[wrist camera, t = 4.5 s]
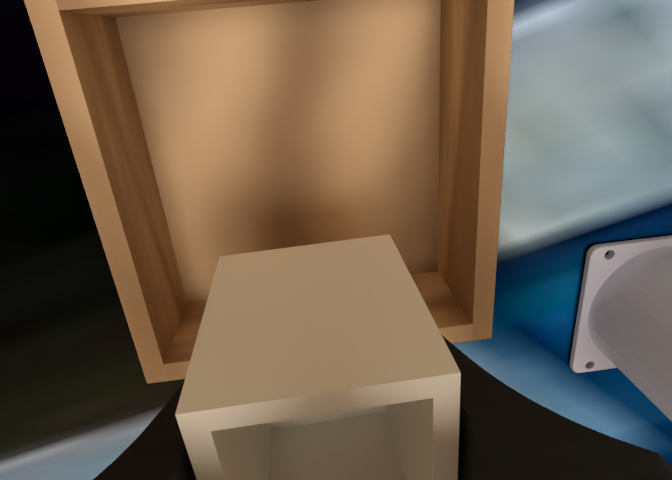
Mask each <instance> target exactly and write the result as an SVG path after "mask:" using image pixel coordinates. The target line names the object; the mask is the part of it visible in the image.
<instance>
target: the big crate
mask: <svg viewBox="0 0 672 480" xmlns="http://www.w3.org/2000/svg"><path fill="white" fill-rule="evenodd" d="M24 1H25V5H26V8H27V11H28V14H29V17H30V20H31V23H32V26H33V29H34V33H35V36H36V39H37V42H38V45H39V48H40V51H41V54H42V58H43V61H44V64H45V67H46V70H47V73H48V76H49V79H50V82H51V86H52V89H53V92H54V95H55V98H56V101H57V104H58V107H59V110H60V114H61V117H62V120H63V123H64V126H65V129H66V132H67V135H68V139H69V142H70V145H71V148H72V151H73V154H74V157H75V160H76V163H77V167H78V170H79V173H80V176H81V179H82V182H83V185H84V188H85V191H86V195H87V198H88V201H89V204H90V207H91V210H92V213H93V216H94V220H95V223H96V226H97V229H98V232H99V235H100V238H101V241H102V244H103V248H104V251H105V254H106V257H107V260H108V263H109V266H110V269H111V272H112V276H113V279H114V282H115V285H116V288H117V291H118V294H119V297H120V301H121V304H122V307H123V310H124V313H125V316H126V319H127V322H128V325H129V329H130V332H131V335H132V338H133V341H134V344H135V347H136V350H137V353H138V357H139V360H140V363H141V366H142V369H143V372H144V375H145V378H146V381H147V384H148V383H155V382H163V381H171V380H178V379H185V378H186V374H187V370H188V367H189V363H190V360H191V356H192V353H193V349H194V346H195V342H196V338H197V335H198V331H199V328H200V324H201V321H202V317H203V313H204V310H205V306H206V303H207V299H208V296H209V292H210V289H211V285H212V281H213V278H214V274H215V271H216V267H217V264H218V260H219V257H220V256H226V255H234V254H242V253H250V252H257V251H265V250H273V249H280V248H288V247H296V246H303V245H311V244H319V243H326V242H334V241H342V240H349V239H357V238H365V237H373V236H380V235H388V234H390V236H391V238H392V240H393V242H394V243H395V245H396V247H397V249H398V251H399V253H400V255H401V257H402V259H403V261H404V263H405V265H406V267H407V269H408V271H409V273H410V275H411V277H412V278H413V280H414V282H415V284H416V286H417V288H418V290H419V292H420V294H421V296H422V298H423V300H424V302H425V304H426V306H427V308H428V310H429V312H430V313H431V315H432V317H433V319H434V321H435V323H436V325H437V327H438V329H439V331H440V333H441V334H442V335H443V336H444V337H445V338H446V339H447V340H448V341H449V342H451V343H458V342H466V341H473V340H481V339H489V338H492V323H493V308H494V293H495V279H496V264H497V249H498V234H499V219H500V204H501V190H502V175H503V160H504V145H505V130H506V115H507V101H508V86H509V71H510V56H511V41H512V26H513V12H514V0H24Z"/></svg>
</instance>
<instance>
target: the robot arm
mask: <svg viewBox="0 0 672 480" xmlns="http://www.w3.org/2000/svg"><path fill="white" fill-rule="evenodd" d="M609 250H610V251H609ZM607 251H609V253H608V254H607V255H606V256H605V253H606V252H607ZM441 335H442V334H441ZM442 337H443V339H444V341H445V343H446V345H447V347H448V349H449V350H450V352H451V354H452V356H453V358H454V360H455V362H456V364H457V366H458V368H459V370H460V372H461V384H460V418H459V452H458V480H672V467H671V466H670V465H669V464H668V463H667V462H666V461H665V460H664V459H663V458H662V457H661V456H660V455H659V454H658V453H656V452H653V451H650V450H647V449H644V448H641V447H638V446H635V445H632V444H629V443H626V442H623V441H621V440H618V439H615V438H612V437H609V436H607V435H604V434H602V433H599V432H597V431H595V430H592V429H590V428H587V427H585V426H582V425H580V424H578V423H576V422H574V421H571V420H569V419H567V418H565V417H563V416H561V415H559V414H557V413H555V412H553V411H551V410H549V409H547V408H545V407H543V406H541V405H539V404H537V403H535V402H534V401H532V400H530V399H528V398H527V397H525V396H523V395H522V394H520V393H518V392H517V391H515V390H513V389H512V388H510V387H508V386H507V385H505V384H504V383H502V382H501V381H499V380H498V379H496V378H495V377H493V376H492V375H491V374H489V373H488V372H486V371H485V370H484V369H482V368H481V367H480V366H478V365H477V364H476V363H475V362H473V361H472V360H471V359H470V358H468V357H467V356H466V355H465V354H463V353H462V352H461V351H460V350H459V349H457V348H456V347H455V346H454V345H453V344H452V343H451V342H449V341H448V340H447V339H446V338H445V337H444V336H443V335H442ZM588 362H589V363H588ZM587 363H588V364H587ZM570 367H571V369H572V370H573V371H574V372H576V373H582V372H589V371H596V370H604V369H611V368H618V369H619V370H620V371H621V372H622V373H623V374H624V375H625V376H626V377H627V378H628V379H629V380H630V381H631V382H632V383H633V384H634V385H635V386H636V387H637V388H638V389H639V390H640V391H641V392H642V393H643V394H644V395H645V396H646V397H647V398H648V399H649V400H650V401H651V402H652V403H653V404H654V405H656V406H657V407H658V408H659V409H660V410H661V411H662V412H663V413H664V414H665V415H666V416H667V417H668V418H669V419H670V420H671V421H672V235H670V236H661V237H653V238H645V239H637V240H629V241H620V242H612V243H604V244H597V245H594V246H592V247H591V248H590V249H589V250H588V252H587V255H586V261H585V268H584V274H583V280H582V287H581V293H580V300H579V306H578V312H577V319H576V325H575V332H574V338H573V344H572V351H571V357H570ZM184 381H185V380H184ZM184 381H183V383H182V384H181V386H180V387H179V388H178V389H177V391H176V392H175V393H174V395H173V396H172V397H171V399H170V400H169V401H168V403H167V404H166V405H165V406H164V408H163V409H162V410H161V411H160V412H159V414H158V415H157V416H156V417H155V418H154V419H153V421H152V422H151V423H150V424H149V425H148V427H147V428H146V429H145V430H144V431H143V432H142V433H141V435H140V436H139V437H138V438H137V439H136V440H135V441H134V442H133V443H132V444H131V445H130V446H129V447H128V448H127V449H126V450H125V451H124V452H123V453H122V454H121V455H120V456H119V457H118V458H117V459H116V460H115V461H114V462H113V463H112V464H111V465H109V466H108V467H107V468H106V469H105V470H104V471H103V472H101V473H100V474H99V475H98V476H97V477H96V478H95V479H93V480H197V479H196V476H195V473H194V470H193V467H192V464H191V461H190V458H189V455H188V452H187V449H186V446H185V443H184V440H183V437H182V434H181V431H180V428H179V425H178V422H177V419H176V416H175V413H176V410H177V406H178V402H179V399H180V395H181V392H182V388H183V385H184Z"/></svg>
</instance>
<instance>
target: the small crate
mask: <svg viewBox="0 0 672 480" xmlns="http://www.w3.org/2000/svg"><path fill="white" fill-rule="evenodd" d="M460 384H461V372H460V370H459V368H458V366H457V364H456V362H455V360H454V358H453V356H452V354H451V352H450V350H449V349H448V347H447V345H446V343H445V341H444V339H443V337H442V335H441V333H440V331H439V329H438V327H437V325H436V323H435V321H434V319H433V317H432V315H431V313H430V312H429V310H428V308H427V306H426V304H425V302H424V300H423V298H422V296H421V294H420V292H419V290H418V288H417V286H416V284H415V282H414V280H413V278H412V277H411V275H410V273H409V271H408V269H407V267H406V265H405V263H404V261H403V259H402V257H401V255H400V253H399V251H398V249H397V247H396V245H395V243H394V242H393V240H392V238H391V236H390V234H388V235H380V236H373V237H365V238H357V239H349V240H342V241H334V242H326V243H319V244H311V245H303V246H296V247H288V248H280V249H273V250H265V251H257V252H250V253H242V254H234V255H226V256H220V257H219V260H218V264H217V267H216V271H215V274H214V278H213V281H212V285H211V289H210V292H209V296H208V299H207V303H206V306H205V310H204V313H203V317H202V321H201V324H200V328H199V331H198V335H197V338H196V342H195V346H194V349H193V353H192V356H191V360H190V363H189V367H188V370H187V374H186V378H185V381H184V385H183V388H182V392H181V395H180V399H179V402H178V406H177V410H176V413H175V416H176V419H177V422H178V425H179V428H180V431H181V434H182V437H183V440H184V443H185V446H186V449H187V452H188V455H189V458H190V461H191V464H192V467H193V470H194V473H195V476H196V479H197V480H458V452H459V418H460Z"/></svg>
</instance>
